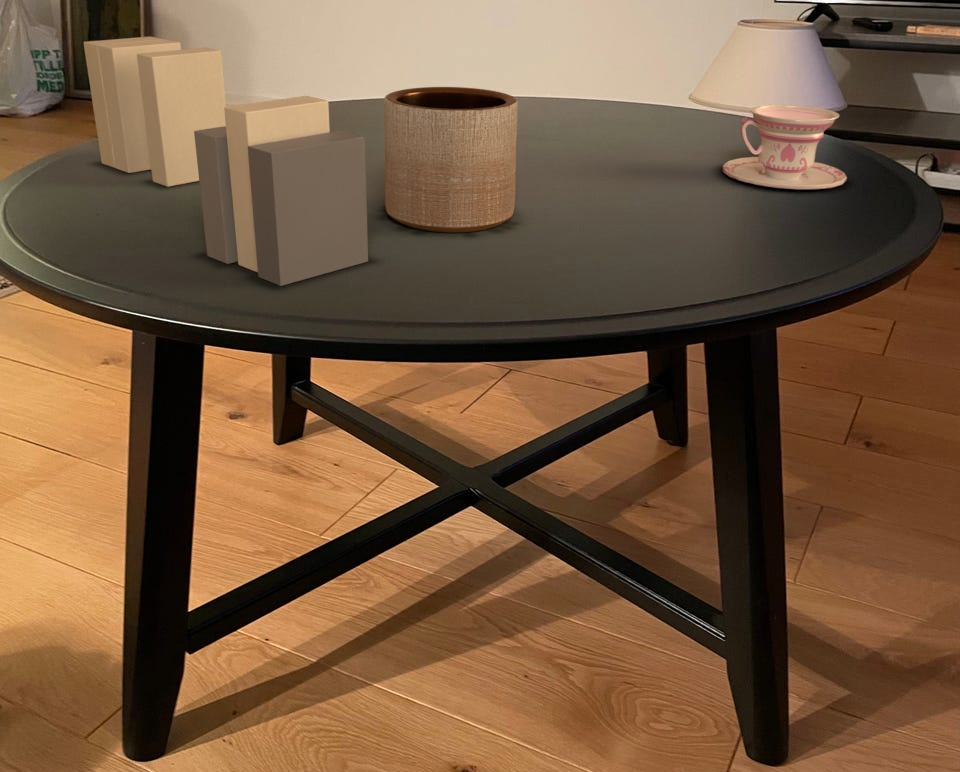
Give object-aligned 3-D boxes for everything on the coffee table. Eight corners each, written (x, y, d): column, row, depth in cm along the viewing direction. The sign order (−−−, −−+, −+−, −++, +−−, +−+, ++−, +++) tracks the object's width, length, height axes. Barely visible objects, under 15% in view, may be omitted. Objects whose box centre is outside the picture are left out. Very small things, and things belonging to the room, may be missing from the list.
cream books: (167, 187, 92) (151, 57, 87) (101, 163, 99) (82, 41, 94) (232, 174, 97) (221, 50, 92) (165, 153, 104) (151, 36, 98)
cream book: (258, 273, 73) (245, 112, 67) (238, 265, 74) (223, 106, 69) (335, 253, 77) (328, 100, 72) (314, 245, 79) (306, 95, 73)
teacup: (827, 164, 107) (839, 103, 104) (861, 194, 97) (875, 126, 94) (712, 160, 107) (720, 99, 104) (733, 190, 97) (743, 122, 94)
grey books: (280, 286, 71) (271, 152, 66) (206, 256, 76) (193, 130, 71) (368, 261, 76) (365, 136, 71) (293, 235, 81) (286, 116, 77)
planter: (517, 236, 82) (522, 112, 77) (380, 233, 82) (378, 108, 77) (511, 200, 92) (516, 87, 87) (389, 197, 91) (387, 84, 87)
